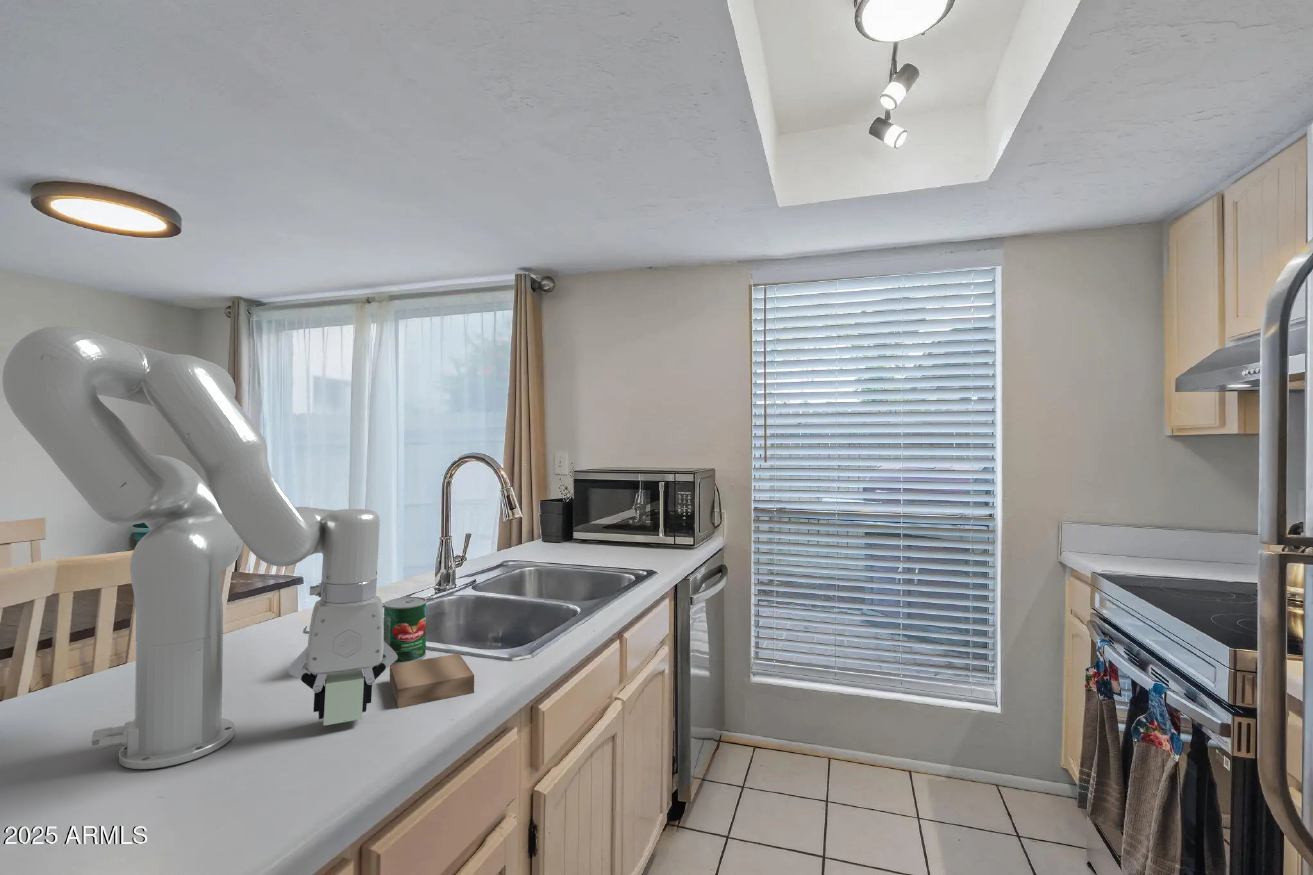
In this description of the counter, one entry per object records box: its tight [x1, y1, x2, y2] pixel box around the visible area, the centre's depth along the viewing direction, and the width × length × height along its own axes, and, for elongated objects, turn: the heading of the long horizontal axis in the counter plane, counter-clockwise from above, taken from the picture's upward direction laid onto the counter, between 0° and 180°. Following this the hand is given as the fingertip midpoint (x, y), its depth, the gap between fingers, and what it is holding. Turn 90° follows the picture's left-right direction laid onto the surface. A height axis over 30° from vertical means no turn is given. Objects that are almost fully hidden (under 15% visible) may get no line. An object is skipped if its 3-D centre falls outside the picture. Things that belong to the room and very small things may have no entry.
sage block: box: [322, 669, 364, 726], centre depth 89 cm, size 5×5×6 cm
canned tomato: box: [383, 596, 427, 665], centre depth 118 cm, size 8×8×11 cm
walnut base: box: [389, 653, 475, 709], centre depth 103 cm, size 12×12×3 cm
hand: (342, 710), depth 89 cm, fingers closed on sage block, 5 cm apart
